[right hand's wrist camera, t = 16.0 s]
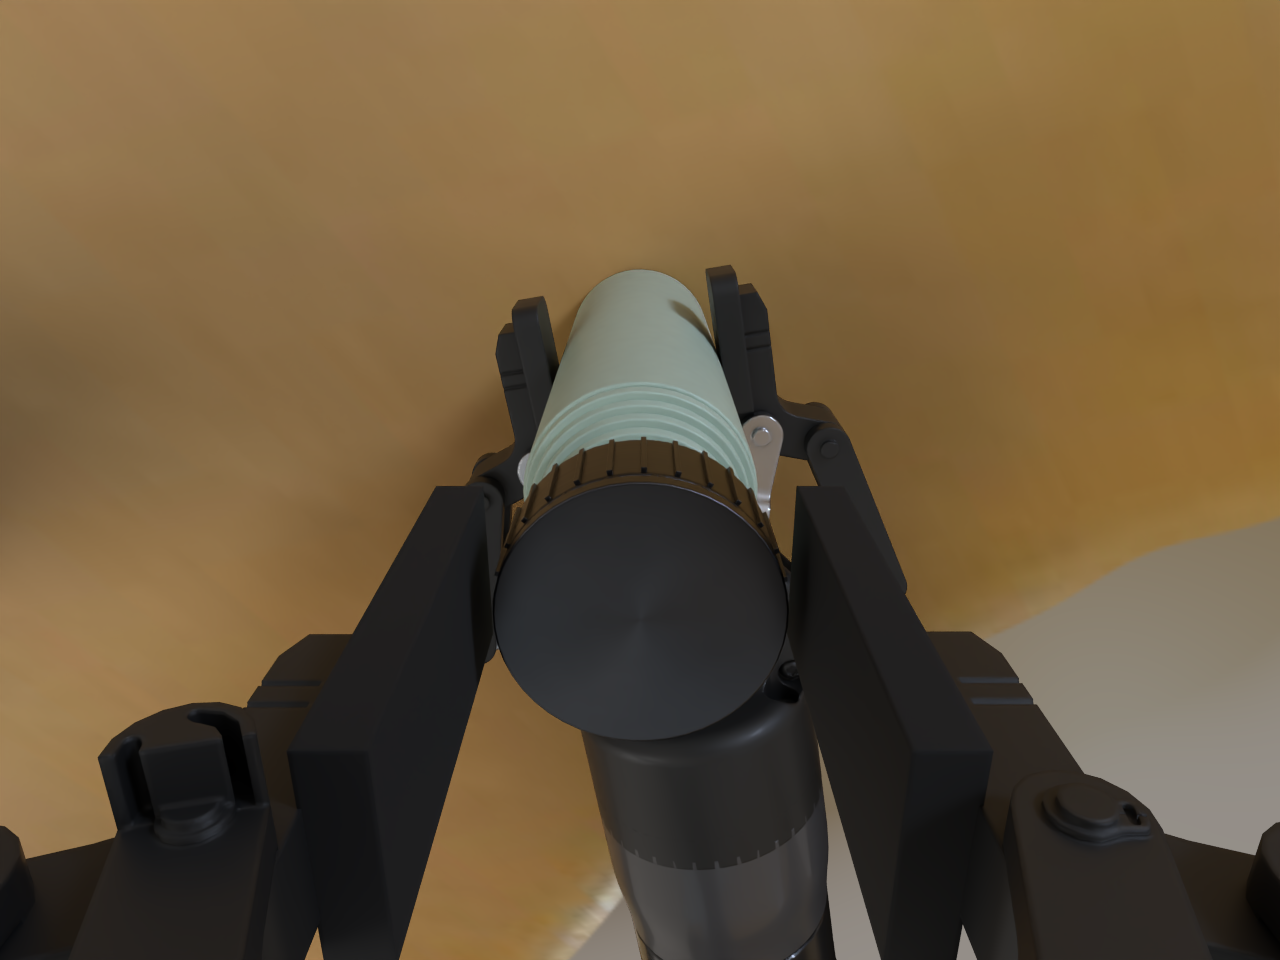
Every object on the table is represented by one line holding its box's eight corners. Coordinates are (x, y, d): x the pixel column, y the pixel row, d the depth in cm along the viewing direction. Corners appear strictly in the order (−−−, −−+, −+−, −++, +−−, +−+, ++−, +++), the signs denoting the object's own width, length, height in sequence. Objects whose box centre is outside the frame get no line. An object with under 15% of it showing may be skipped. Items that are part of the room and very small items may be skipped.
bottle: (702, 263, 30) (787, 446, 13) (711, 395, 31) (796, 715, 14) (565, 275, 30) (466, 474, 13) (581, 407, 31) (512, 736, 14)
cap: (458, 595, 15) (433, 657, 13) (599, 381, 14) (592, 419, 12) (675, 715, 16) (680, 788, 14) (828, 527, 15) (854, 581, 13)
